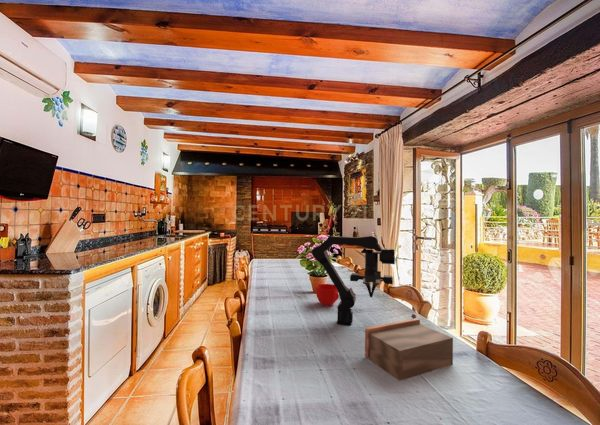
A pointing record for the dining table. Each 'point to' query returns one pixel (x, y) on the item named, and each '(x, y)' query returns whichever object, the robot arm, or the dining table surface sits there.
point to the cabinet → (411, 350)
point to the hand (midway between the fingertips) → (371, 297)
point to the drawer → (384, 328)
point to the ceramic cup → (327, 294)
